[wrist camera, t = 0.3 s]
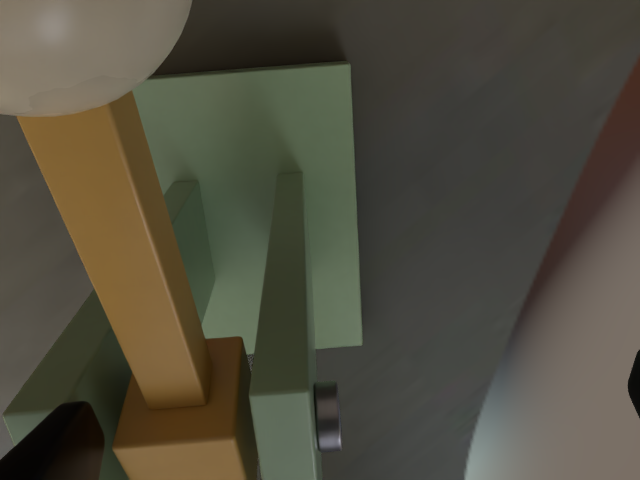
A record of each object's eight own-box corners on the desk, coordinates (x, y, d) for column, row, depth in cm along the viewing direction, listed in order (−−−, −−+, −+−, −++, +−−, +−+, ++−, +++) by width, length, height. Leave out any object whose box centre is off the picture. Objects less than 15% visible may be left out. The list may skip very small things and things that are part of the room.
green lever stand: (107, 78, 20) (-245, 202, 7) (347, 60, 20) (437, 148, 7) (167, 346, 24) (25, 708, 12) (360, 330, 24) (426, 674, 12)
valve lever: (-155, -271, 6) (-593, -364, 3) (180, -296, 6) (77, -413, 3) (146, 398, 13) (109, 554, 10) (288, 387, 13) (289, 539, 10)
